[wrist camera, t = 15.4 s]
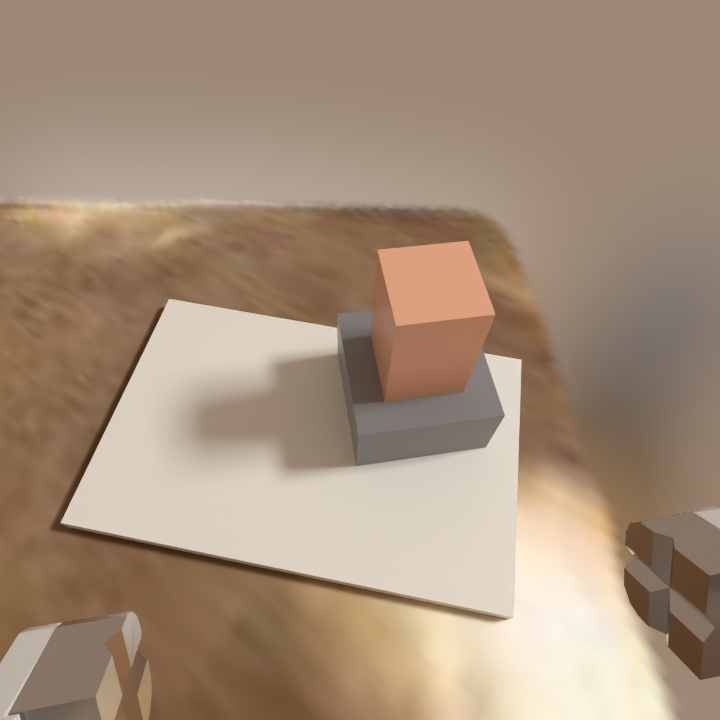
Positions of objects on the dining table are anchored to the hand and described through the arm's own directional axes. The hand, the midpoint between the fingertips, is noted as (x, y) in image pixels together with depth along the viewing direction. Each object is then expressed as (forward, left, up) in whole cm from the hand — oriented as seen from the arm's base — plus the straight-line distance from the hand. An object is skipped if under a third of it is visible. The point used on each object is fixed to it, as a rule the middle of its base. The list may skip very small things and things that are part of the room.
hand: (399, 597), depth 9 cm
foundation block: (0, +17, -24) cm, 30 cm away
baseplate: (-6, +13, -25) cm, 29 cm away
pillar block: (0, +17, -19) cm, 26 cm away
